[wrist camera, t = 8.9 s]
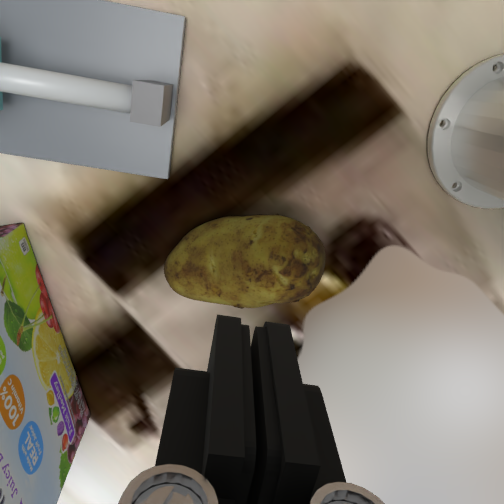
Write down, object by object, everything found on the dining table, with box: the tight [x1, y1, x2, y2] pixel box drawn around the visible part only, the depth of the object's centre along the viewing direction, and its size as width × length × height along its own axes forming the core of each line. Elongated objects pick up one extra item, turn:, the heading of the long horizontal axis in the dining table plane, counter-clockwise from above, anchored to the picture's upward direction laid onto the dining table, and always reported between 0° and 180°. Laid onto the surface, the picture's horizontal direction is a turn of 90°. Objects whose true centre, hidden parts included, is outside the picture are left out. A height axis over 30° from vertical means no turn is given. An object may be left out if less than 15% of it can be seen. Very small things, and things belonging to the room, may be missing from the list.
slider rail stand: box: [0, 0, 186, 179], centre depth 30 cm, size 22×12×7 cm, turn 80°
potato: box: [164, 214, 325, 308], centre depth 36 cm, size 8×13×8 cm, turn 83°
